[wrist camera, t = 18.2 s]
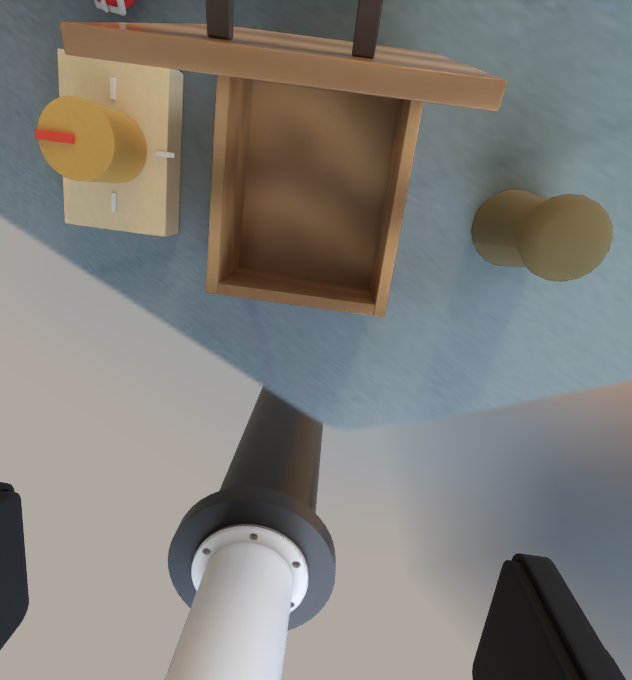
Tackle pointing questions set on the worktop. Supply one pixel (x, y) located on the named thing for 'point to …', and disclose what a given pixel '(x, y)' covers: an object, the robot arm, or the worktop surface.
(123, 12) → the tracker holder
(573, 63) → the worktop surface
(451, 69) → the hinged box cover
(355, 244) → the chest
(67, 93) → the lock plate
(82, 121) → the lock knob
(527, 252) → the cork
